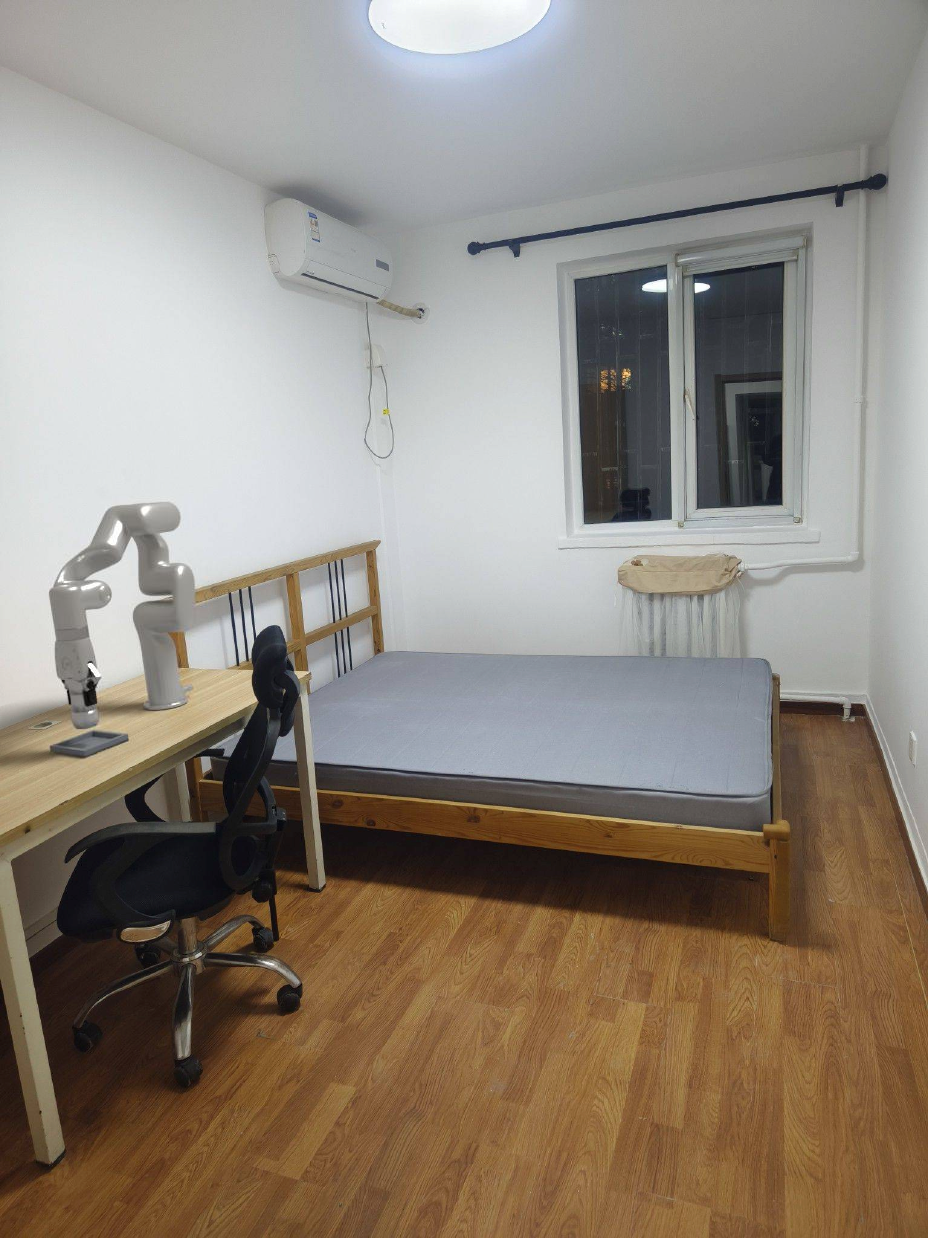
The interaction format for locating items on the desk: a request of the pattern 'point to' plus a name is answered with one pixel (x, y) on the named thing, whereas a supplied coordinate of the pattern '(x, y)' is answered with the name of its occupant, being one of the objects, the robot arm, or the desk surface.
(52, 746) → the charcoal tray
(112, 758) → the desk surface
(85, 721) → the plastic bottle
